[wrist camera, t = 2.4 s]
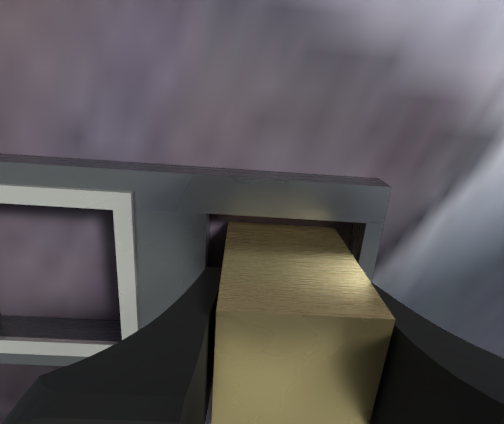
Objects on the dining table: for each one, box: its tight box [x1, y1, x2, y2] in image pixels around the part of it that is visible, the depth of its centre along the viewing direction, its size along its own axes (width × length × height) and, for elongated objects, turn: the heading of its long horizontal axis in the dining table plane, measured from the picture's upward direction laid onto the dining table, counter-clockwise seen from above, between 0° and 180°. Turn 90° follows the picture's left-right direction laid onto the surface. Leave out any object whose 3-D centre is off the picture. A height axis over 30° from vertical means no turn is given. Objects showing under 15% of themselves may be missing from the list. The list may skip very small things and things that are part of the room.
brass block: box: [212, 221, 395, 424], centre depth 11 cm, size 4×4×6 cm
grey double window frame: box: [0, 154, 392, 366], centre depth 12 cm, size 15×8×1 cm, turn 86°
